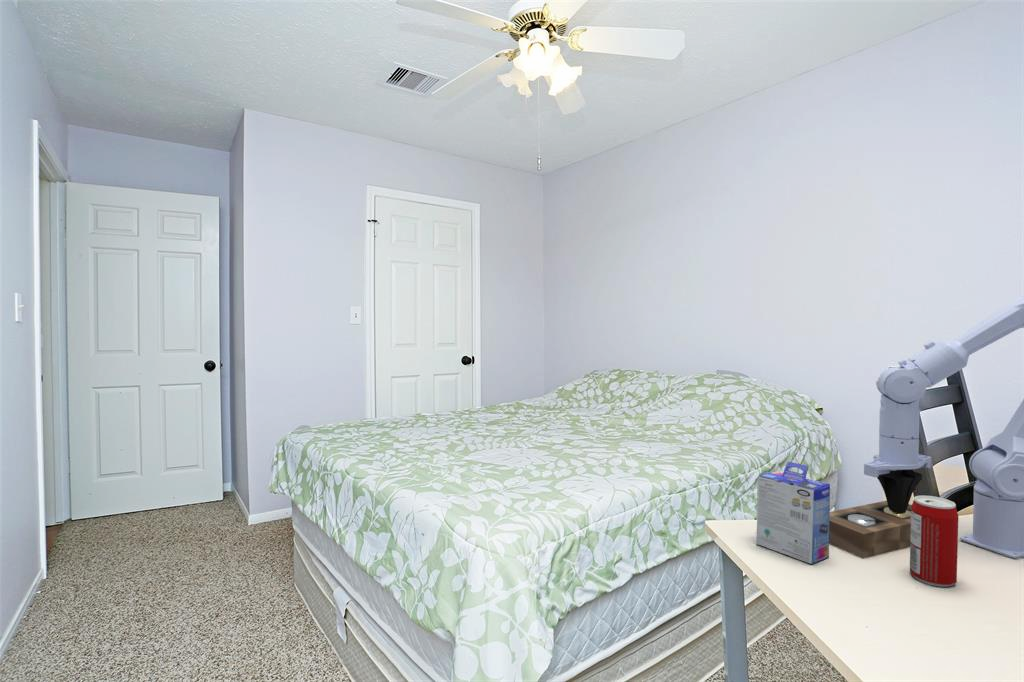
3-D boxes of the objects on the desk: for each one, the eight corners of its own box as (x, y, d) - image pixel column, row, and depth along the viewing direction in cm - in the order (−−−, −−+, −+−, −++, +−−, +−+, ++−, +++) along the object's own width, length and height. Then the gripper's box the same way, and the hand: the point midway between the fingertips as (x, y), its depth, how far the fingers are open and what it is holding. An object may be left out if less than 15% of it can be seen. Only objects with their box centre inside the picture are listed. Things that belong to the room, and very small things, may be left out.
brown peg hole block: (892, 519, 103) (893, 499, 103) (945, 538, 95) (945, 515, 94) (814, 537, 96) (814, 514, 96) (863, 558, 88) (863, 534, 87)
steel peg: (858, 533, 96) (858, 513, 96) (880, 542, 92) (881, 521, 92) (842, 537, 95) (842, 516, 95) (864, 546, 91) (864, 524, 91)
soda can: (966, 586, 78) (968, 504, 78) (933, 589, 78) (935, 507, 77) (931, 568, 84) (933, 491, 83) (900, 571, 83) (902, 494, 82)
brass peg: (893, 525, 99) (893, 505, 99) (916, 533, 96) (916, 513, 95) (878, 529, 98) (878, 508, 98) (900, 537, 94) (901, 516, 94)
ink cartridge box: (831, 557, 88) (832, 469, 88) (813, 566, 85) (814, 475, 84) (773, 537, 96) (773, 456, 96) (755, 544, 93) (755, 461, 93)
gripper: (903, 427, 102) (902, 498, 103) (848, 434, 97) (847, 509, 98) (944, 435, 96) (942, 511, 96) (887, 443, 91) (886, 523, 91)
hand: (897, 511), depth 97 cm, fingers closed, pressing on brass peg
